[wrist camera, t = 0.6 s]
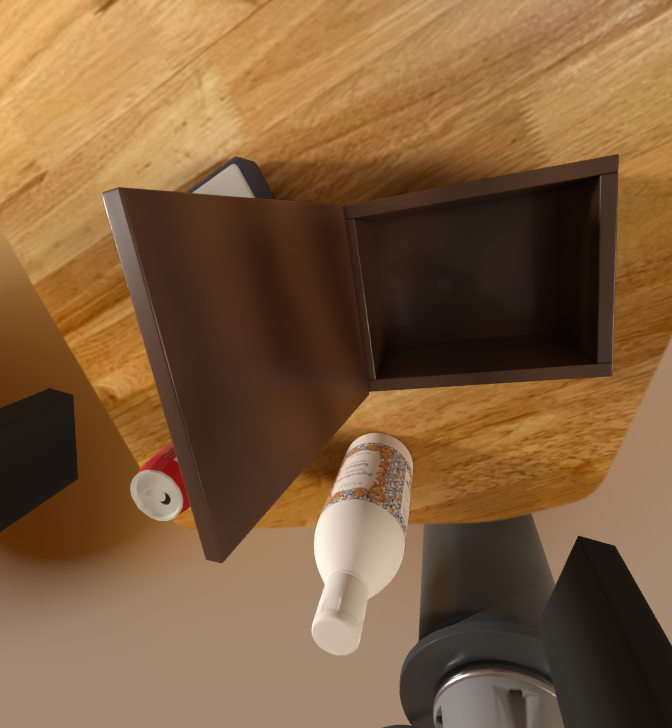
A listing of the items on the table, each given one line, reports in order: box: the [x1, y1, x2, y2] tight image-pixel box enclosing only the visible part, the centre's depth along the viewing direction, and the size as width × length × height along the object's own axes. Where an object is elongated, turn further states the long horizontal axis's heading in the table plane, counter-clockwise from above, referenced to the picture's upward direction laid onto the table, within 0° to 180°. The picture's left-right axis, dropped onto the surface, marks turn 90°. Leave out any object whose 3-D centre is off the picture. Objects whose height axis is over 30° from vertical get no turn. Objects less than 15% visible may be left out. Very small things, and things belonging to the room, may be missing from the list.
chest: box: [343, 154, 619, 392], centre depth 31 cm, size 16×13×10 cm
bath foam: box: [312, 433, 413, 656], centre depth 33 cm, size 7×7×20 cm
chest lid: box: [102, 187, 369, 563], centre depth 21 cm, size 17×13×1 cm
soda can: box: [131, 442, 190, 521], centre depth 40 cm, size 6×6×12 cm
